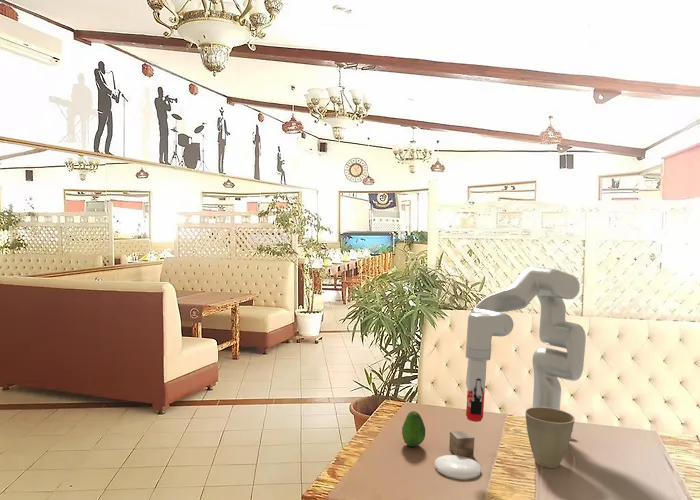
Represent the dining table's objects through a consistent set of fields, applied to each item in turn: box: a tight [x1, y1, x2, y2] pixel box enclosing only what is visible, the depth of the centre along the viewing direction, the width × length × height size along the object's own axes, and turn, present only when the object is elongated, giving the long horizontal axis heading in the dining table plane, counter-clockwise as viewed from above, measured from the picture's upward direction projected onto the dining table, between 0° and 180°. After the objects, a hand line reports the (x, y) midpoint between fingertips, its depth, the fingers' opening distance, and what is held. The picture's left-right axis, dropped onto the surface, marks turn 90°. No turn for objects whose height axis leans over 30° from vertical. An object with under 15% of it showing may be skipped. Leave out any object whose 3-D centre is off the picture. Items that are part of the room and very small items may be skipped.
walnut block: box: [448, 430, 475, 457], centre depth 178 cm, size 6×6×6 cm
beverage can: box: [465, 389, 486, 423], centre depth 166 cm, size 5×5×12 cm
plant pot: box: [524, 406, 576, 469], centre depth 172 cm, size 15×15×16 cm
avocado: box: [401, 410, 426, 447], centre depth 181 cm, size 8×8×12 cm
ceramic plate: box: [434, 454, 482, 481], centre depth 165 cm, size 14×14×1 cm
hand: (474, 410), depth 166 cm, fingers closed on beverage can, 5 cm apart
